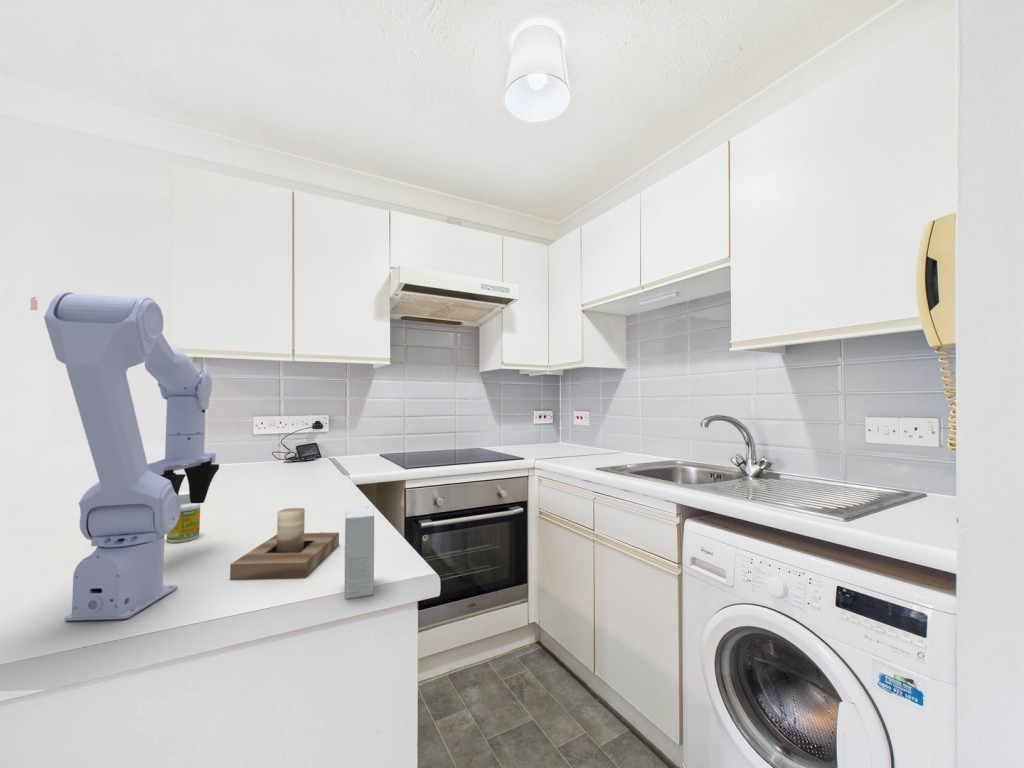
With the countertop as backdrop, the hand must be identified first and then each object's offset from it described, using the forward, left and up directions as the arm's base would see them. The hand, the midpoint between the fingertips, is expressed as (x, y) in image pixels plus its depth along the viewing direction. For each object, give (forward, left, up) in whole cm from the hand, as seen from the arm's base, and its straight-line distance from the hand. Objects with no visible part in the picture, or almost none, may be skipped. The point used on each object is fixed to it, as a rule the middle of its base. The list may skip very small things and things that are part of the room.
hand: (183, 508), depth 76 cm
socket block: (-1, -20, -9) cm, 22 cm away
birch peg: (-1, -20, -9) cm, 22 cm away
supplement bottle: (+12, +8, -10) cm, 17 cm away
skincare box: (-14, -36, -10) cm, 40 cm away
